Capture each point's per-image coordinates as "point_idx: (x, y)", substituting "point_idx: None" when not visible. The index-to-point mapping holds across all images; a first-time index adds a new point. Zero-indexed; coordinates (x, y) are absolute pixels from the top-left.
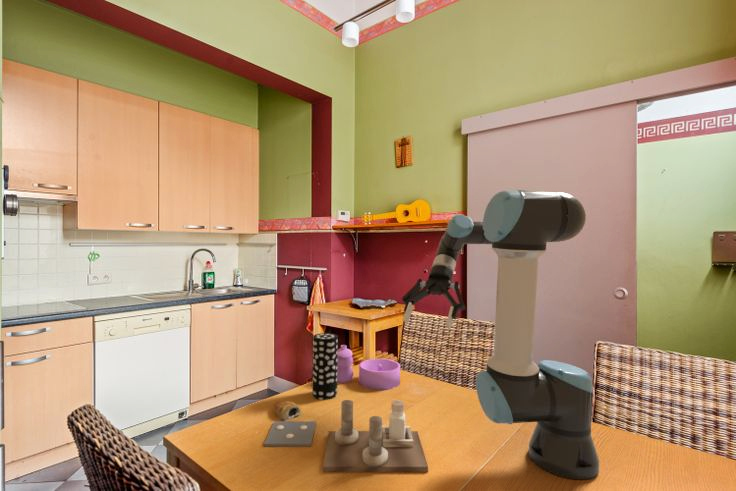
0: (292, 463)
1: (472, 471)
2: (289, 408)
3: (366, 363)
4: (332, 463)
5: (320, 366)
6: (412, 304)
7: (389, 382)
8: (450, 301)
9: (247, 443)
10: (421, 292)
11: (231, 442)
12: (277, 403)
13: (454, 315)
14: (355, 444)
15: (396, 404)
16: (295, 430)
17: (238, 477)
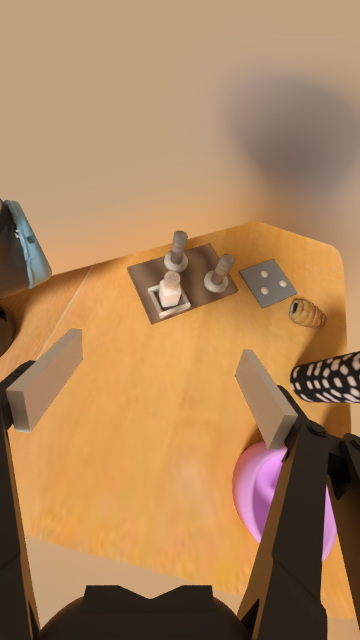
0: (235, 248)
1: (86, 283)
2: (299, 301)
3: (327, 515)
4: (205, 248)
5: (340, 355)
6: (284, 457)
7: (244, 461)
8: (6, 442)
9: (286, 259)
10: (287, 522)
11: (297, 257)
12: (322, 313)
13: (27, 363)
14: (202, 277)
15: (172, 272)
16: (267, 284)
17: (255, 227)
